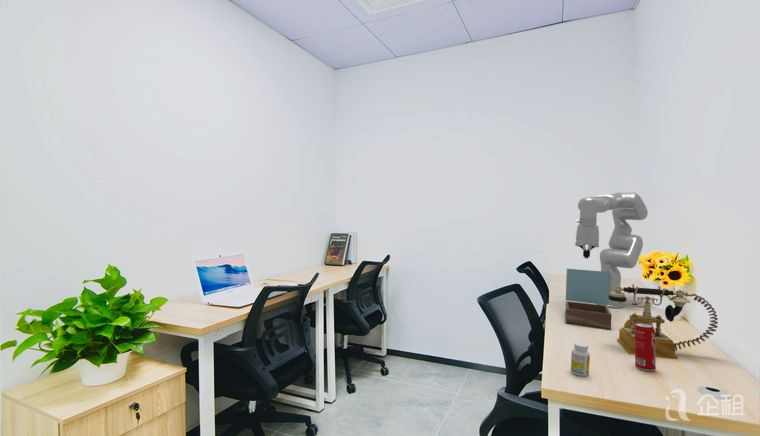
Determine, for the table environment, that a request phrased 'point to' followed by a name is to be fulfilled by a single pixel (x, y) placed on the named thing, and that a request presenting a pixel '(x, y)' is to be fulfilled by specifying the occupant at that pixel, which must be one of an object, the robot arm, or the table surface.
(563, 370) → the table surface
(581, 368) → the supplement bottle
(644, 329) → the beverage can
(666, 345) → the rotary telephone
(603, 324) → the storage box
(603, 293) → the lid
